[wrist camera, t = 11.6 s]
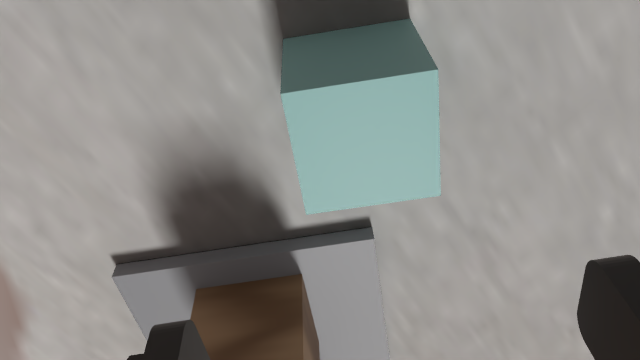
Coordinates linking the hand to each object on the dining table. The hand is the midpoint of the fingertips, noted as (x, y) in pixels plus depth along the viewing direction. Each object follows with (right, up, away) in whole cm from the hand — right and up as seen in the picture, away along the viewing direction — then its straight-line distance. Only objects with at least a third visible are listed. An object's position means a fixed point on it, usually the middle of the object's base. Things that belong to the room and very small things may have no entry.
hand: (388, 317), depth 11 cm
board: (-4, -7, +18) cm, 20 cm away
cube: (0, +6, +9) cm, 11 cm away
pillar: (-4, -4, +15) cm, 16 cm away
